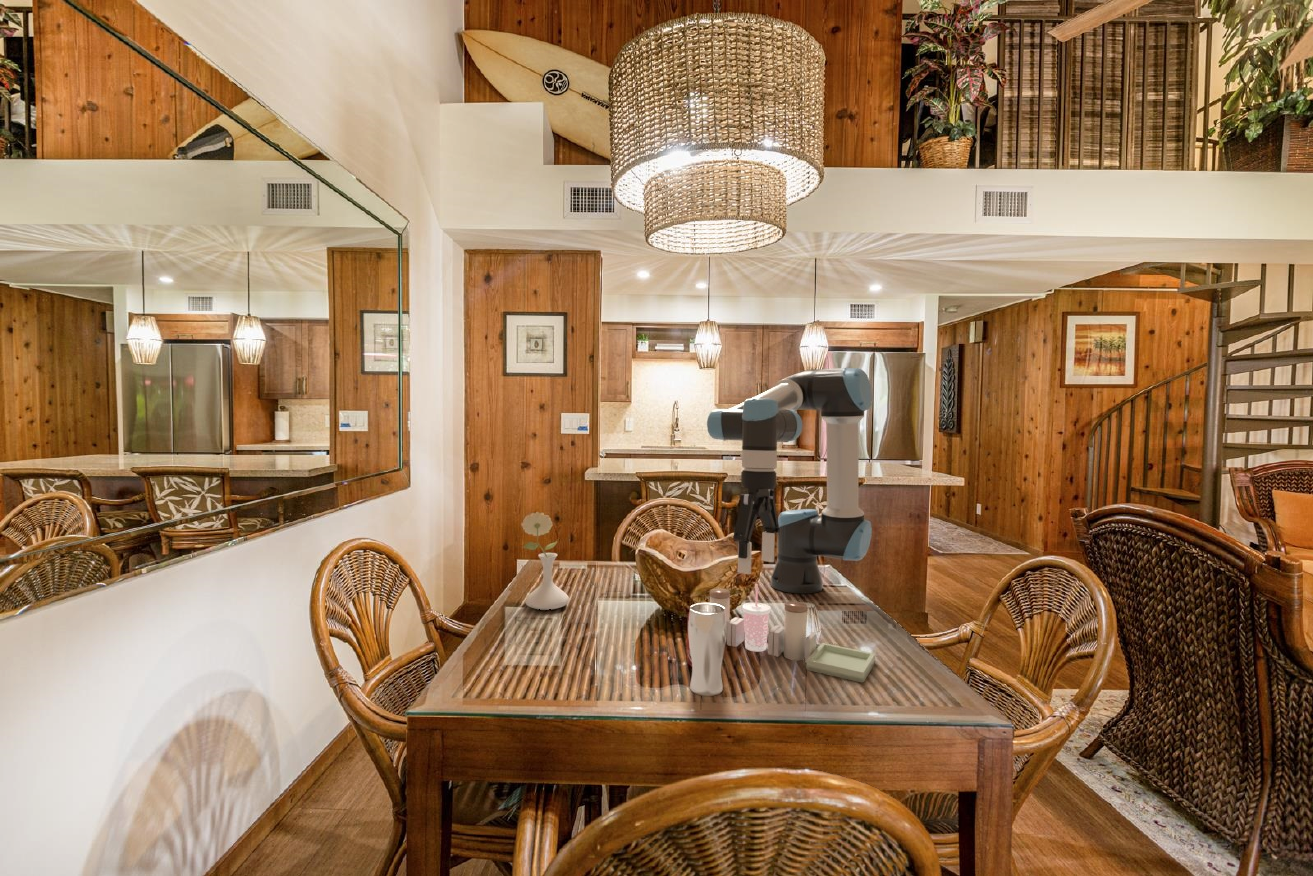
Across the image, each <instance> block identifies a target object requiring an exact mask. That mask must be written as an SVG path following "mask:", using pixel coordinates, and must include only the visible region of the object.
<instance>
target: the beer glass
mask: <svg viewBox="0 0 1313 876" xmlns="http://www.w3.org/2000/svg"><path fill="white" fill-rule="evenodd" d="M698 603H699V604H697V603H694V604H695V605H693V604H692V605H690V607H689V612H690V615H689V627H688V637H689V646H690V653H691V659H692V666H691V667H692V669H691V671H692V672H691V677H690V678H691V679H690V684H689V689H690V691H691V692H692V693H694V694H696V695H699V696H702V697H712V696H717V695H718V696H719V695H720V694H721V693H722V692H723V691H724V690H723V689H724V686H723V685H724V684H723V679H722V663H723V659H724V654H725V649H726V643H727V642H726V614H725V608H724V607H723V606H721V605H718V604H712V603H710V602H698ZM725 642H726V643H725Z"/></svg>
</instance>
